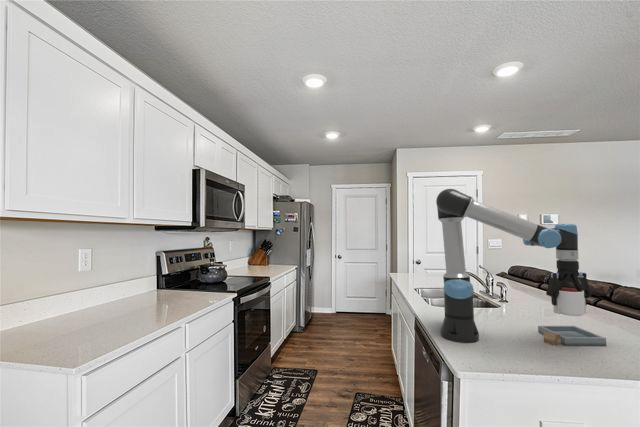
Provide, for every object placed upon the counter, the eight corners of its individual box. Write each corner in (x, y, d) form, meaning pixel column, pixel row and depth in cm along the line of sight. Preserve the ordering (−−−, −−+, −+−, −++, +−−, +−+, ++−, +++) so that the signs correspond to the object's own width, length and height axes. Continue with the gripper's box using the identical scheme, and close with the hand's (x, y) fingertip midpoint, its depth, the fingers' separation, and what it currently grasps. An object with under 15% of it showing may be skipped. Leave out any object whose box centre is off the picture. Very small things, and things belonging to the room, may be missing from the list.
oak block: (553, 345, 127) (553, 335, 127) (543, 342, 130) (543, 332, 131) (560, 344, 128) (560, 334, 128) (550, 341, 132) (550, 331, 132)
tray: (565, 345, 126) (565, 338, 126) (538, 332, 142) (538, 325, 142) (606, 345, 126) (605, 338, 126) (574, 332, 142) (574, 325, 142)
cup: (590, 317, 129) (589, 292, 129) (562, 316, 131) (561, 291, 131) (576, 311, 138) (575, 287, 139) (550, 310, 140) (549, 287, 141)
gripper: (546, 261, 132) (548, 315, 131) (601, 260, 131) (604, 315, 131) (534, 259, 139) (536, 310, 138) (586, 258, 139) (589, 310, 138)
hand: (569, 313), depth 134 cm, fingers closed on cup, 10 cm apart
